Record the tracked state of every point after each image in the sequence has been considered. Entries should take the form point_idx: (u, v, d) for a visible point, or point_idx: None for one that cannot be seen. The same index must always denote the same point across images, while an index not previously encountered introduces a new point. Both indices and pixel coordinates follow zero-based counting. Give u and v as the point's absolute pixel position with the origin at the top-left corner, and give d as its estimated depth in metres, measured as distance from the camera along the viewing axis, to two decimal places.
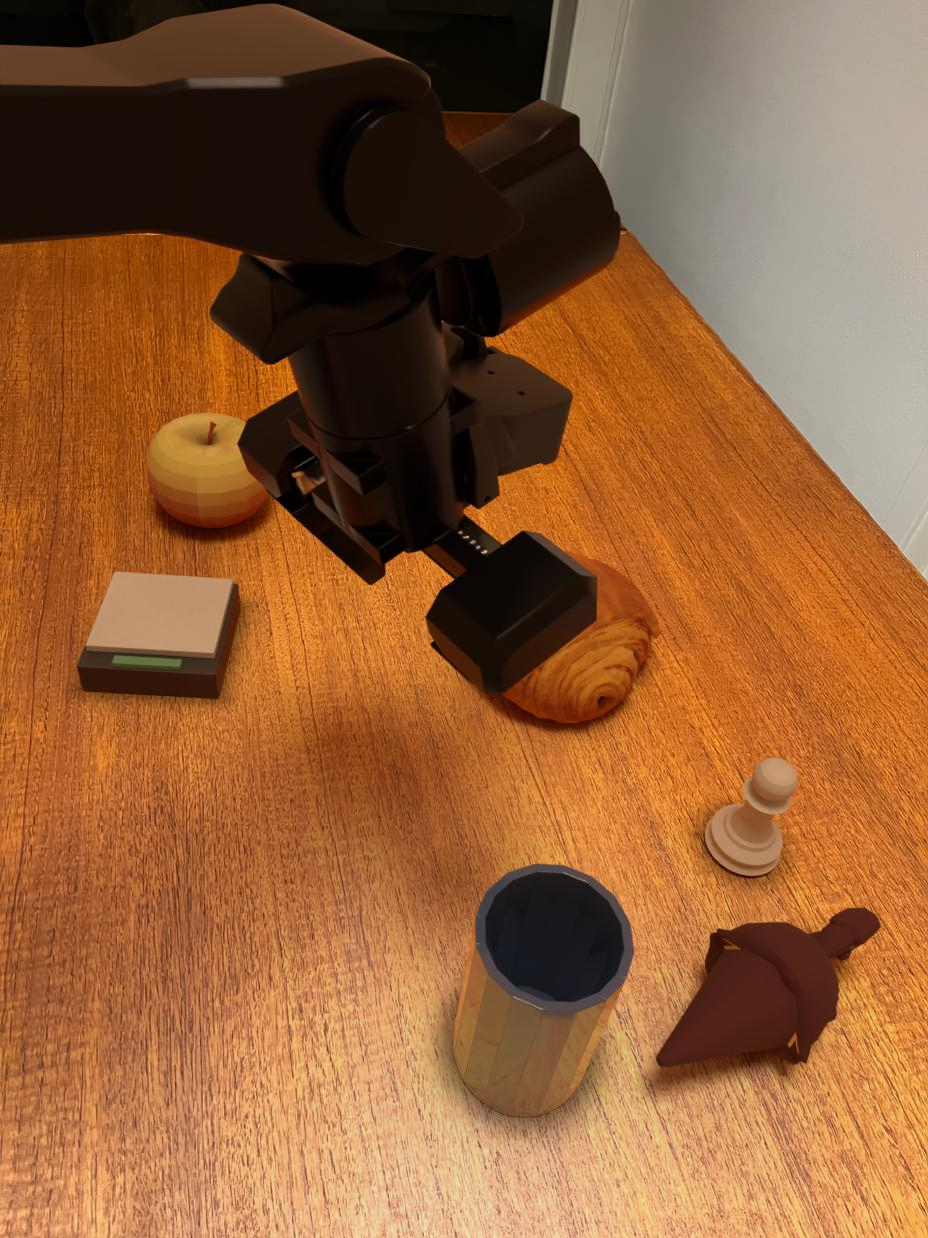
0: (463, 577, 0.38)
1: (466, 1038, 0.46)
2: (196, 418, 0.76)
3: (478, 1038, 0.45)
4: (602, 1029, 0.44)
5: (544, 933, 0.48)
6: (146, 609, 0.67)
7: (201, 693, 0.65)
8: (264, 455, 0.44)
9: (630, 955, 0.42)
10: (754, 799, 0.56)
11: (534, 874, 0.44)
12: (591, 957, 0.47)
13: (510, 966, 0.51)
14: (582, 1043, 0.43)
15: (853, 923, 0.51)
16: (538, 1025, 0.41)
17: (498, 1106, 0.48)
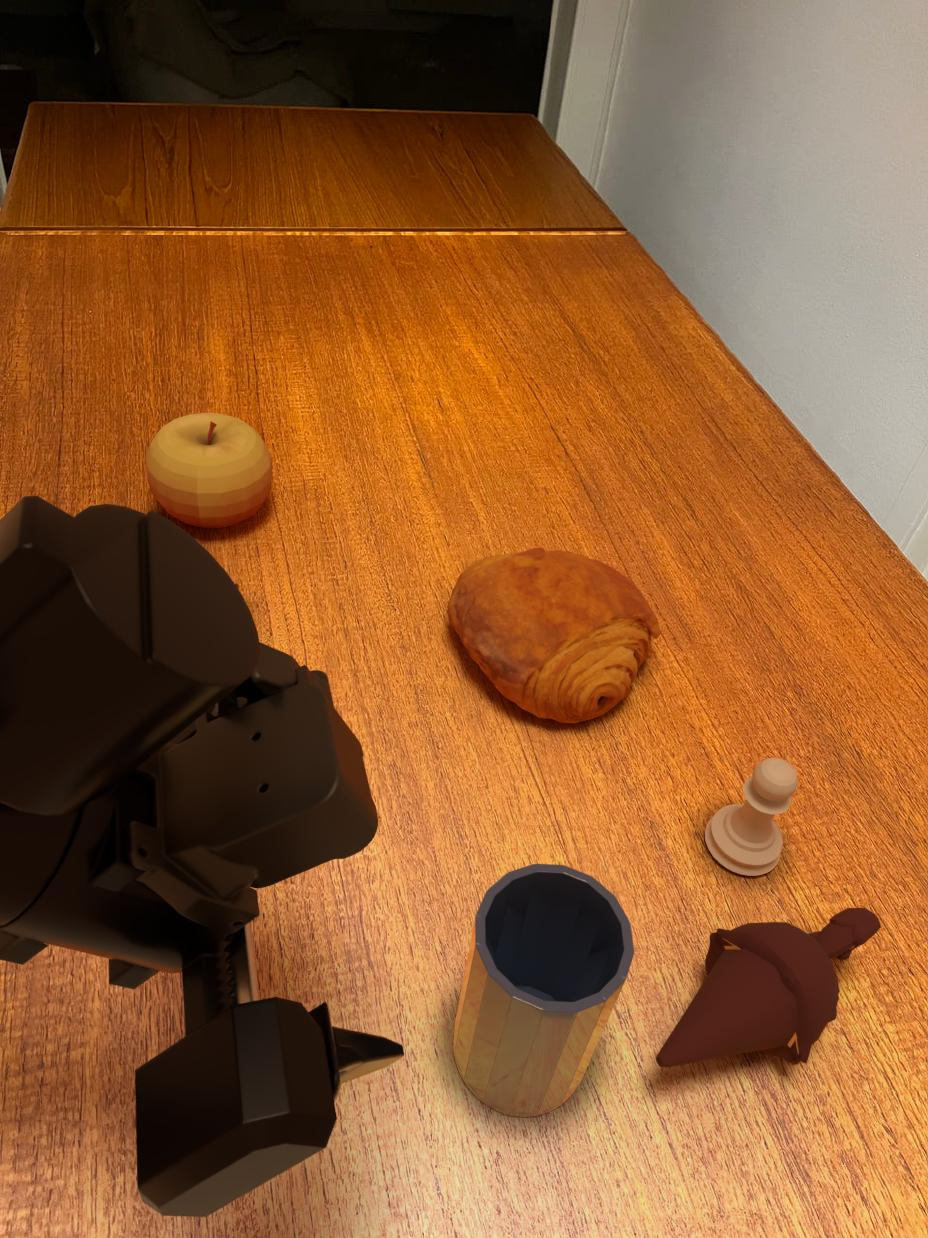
0: (157, 1061, 0.29)
1: (466, 1038, 0.46)
2: (196, 418, 0.76)
3: (478, 1038, 0.45)
4: (602, 1029, 0.44)
5: (544, 933, 0.48)
6: None
7: None
8: None
9: (630, 955, 0.42)
10: (754, 799, 0.56)
11: (534, 874, 0.44)
12: (591, 957, 0.47)
13: (510, 966, 0.51)
14: (582, 1043, 0.43)
15: (853, 923, 0.51)
16: (538, 1025, 0.41)
17: (498, 1106, 0.48)
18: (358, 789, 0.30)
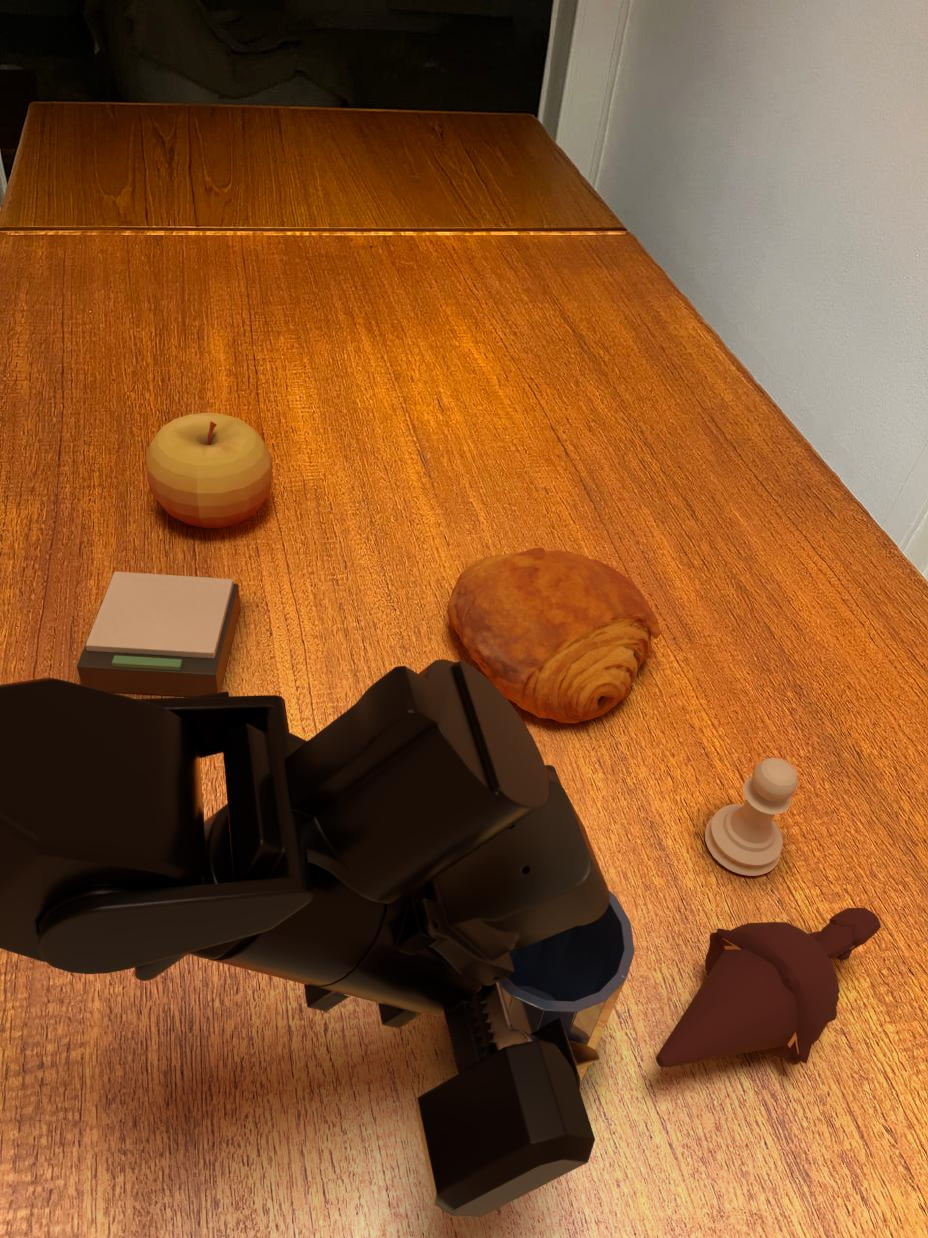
0: (438, 1090, 0.36)
1: None
2: (196, 418, 0.76)
3: None
4: (602, 1029, 0.44)
5: None
6: (146, 609, 0.67)
7: (201, 693, 0.65)
8: None
9: (630, 955, 0.42)
10: (754, 799, 0.56)
11: None
12: (592, 957, 0.47)
13: None
14: None
15: (853, 923, 0.51)
16: (538, 1024, 0.41)
17: None
18: (598, 869, 0.36)
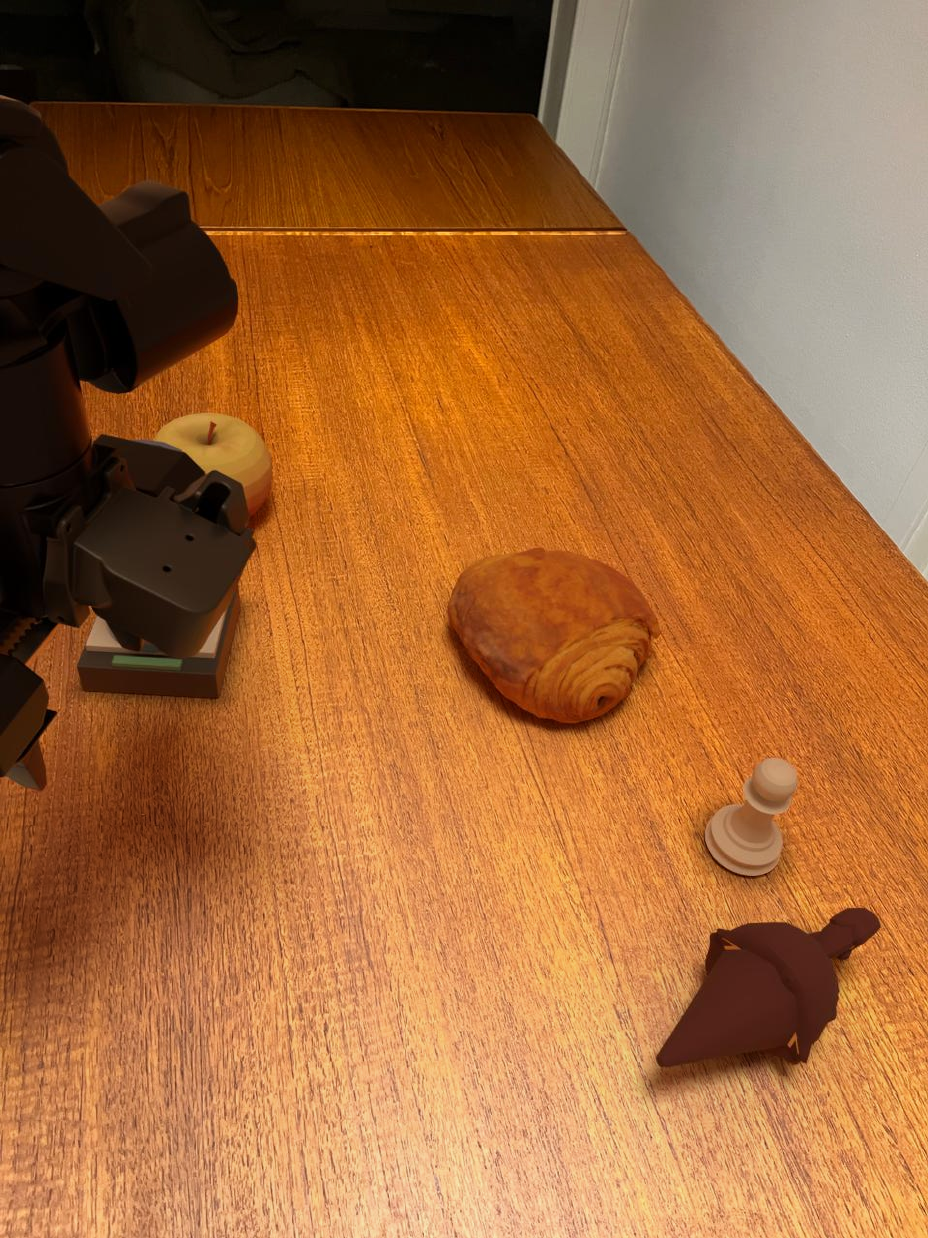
0: None
1: None
2: (196, 418, 0.76)
3: None
4: None
5: None
6: None
7: (201, 693, 0.65)
8: None
9: (181, 451, 0.60)
10: (754, 799, 0.56)
11: None
12: None
13: None
14: None
15: (853, 923, 0.51)
16: None
17: None
18: (211, 625, 0.39)
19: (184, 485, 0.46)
